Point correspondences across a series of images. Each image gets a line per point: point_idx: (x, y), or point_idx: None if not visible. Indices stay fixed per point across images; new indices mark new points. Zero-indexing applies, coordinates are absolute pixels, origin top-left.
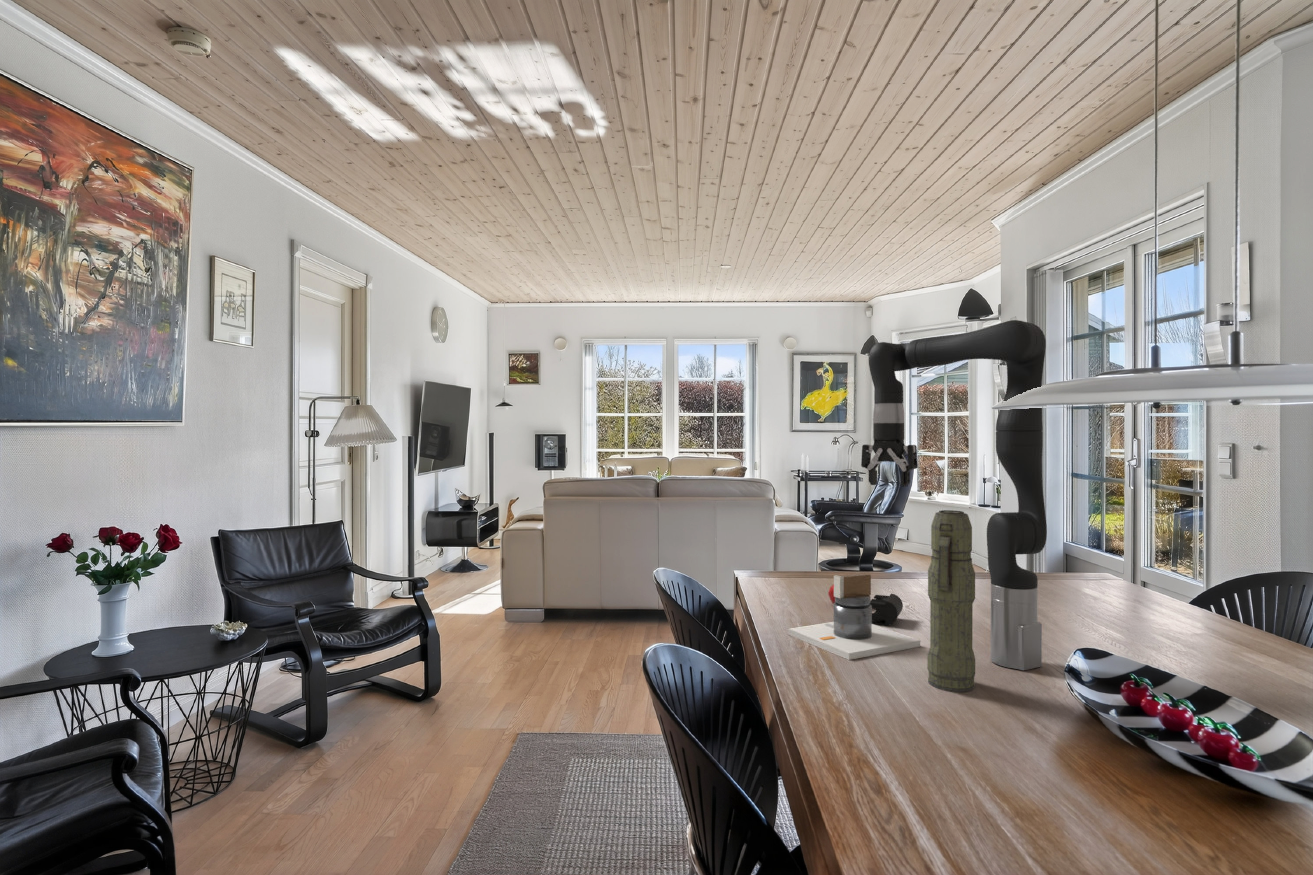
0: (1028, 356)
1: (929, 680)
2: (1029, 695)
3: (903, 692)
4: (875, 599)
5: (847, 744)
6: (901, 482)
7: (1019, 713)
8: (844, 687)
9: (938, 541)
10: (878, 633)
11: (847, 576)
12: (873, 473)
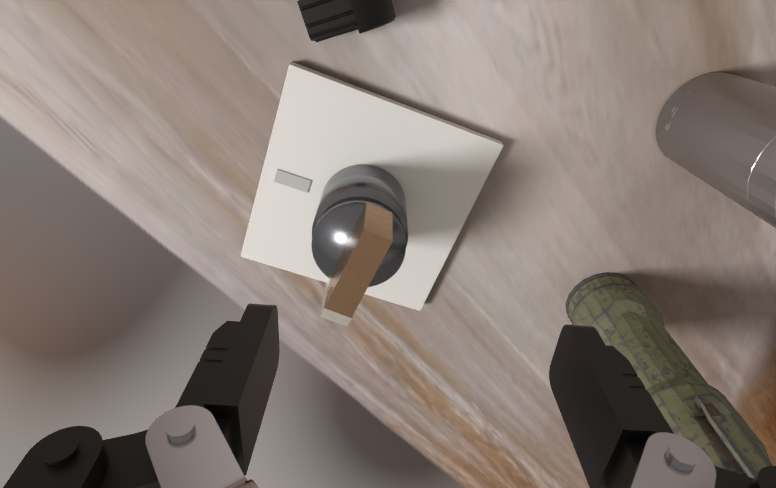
0: None
1: (571, 321)
2: (721, 273)
3: (545, 367)
4: (312, 7)
5: None
6: (560, 402)
7: (702, 342)
8: (469, 395)
9: None
10: (405, 159)
11: (353, 302)
12: (252, 435)
